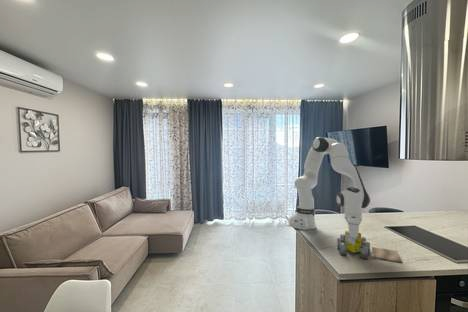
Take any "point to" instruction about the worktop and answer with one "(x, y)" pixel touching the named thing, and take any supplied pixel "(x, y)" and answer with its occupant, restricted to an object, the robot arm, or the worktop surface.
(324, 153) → the robot arm
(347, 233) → the supplement box
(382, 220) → the worktop surface
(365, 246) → the spacer field
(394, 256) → the walnut pad
